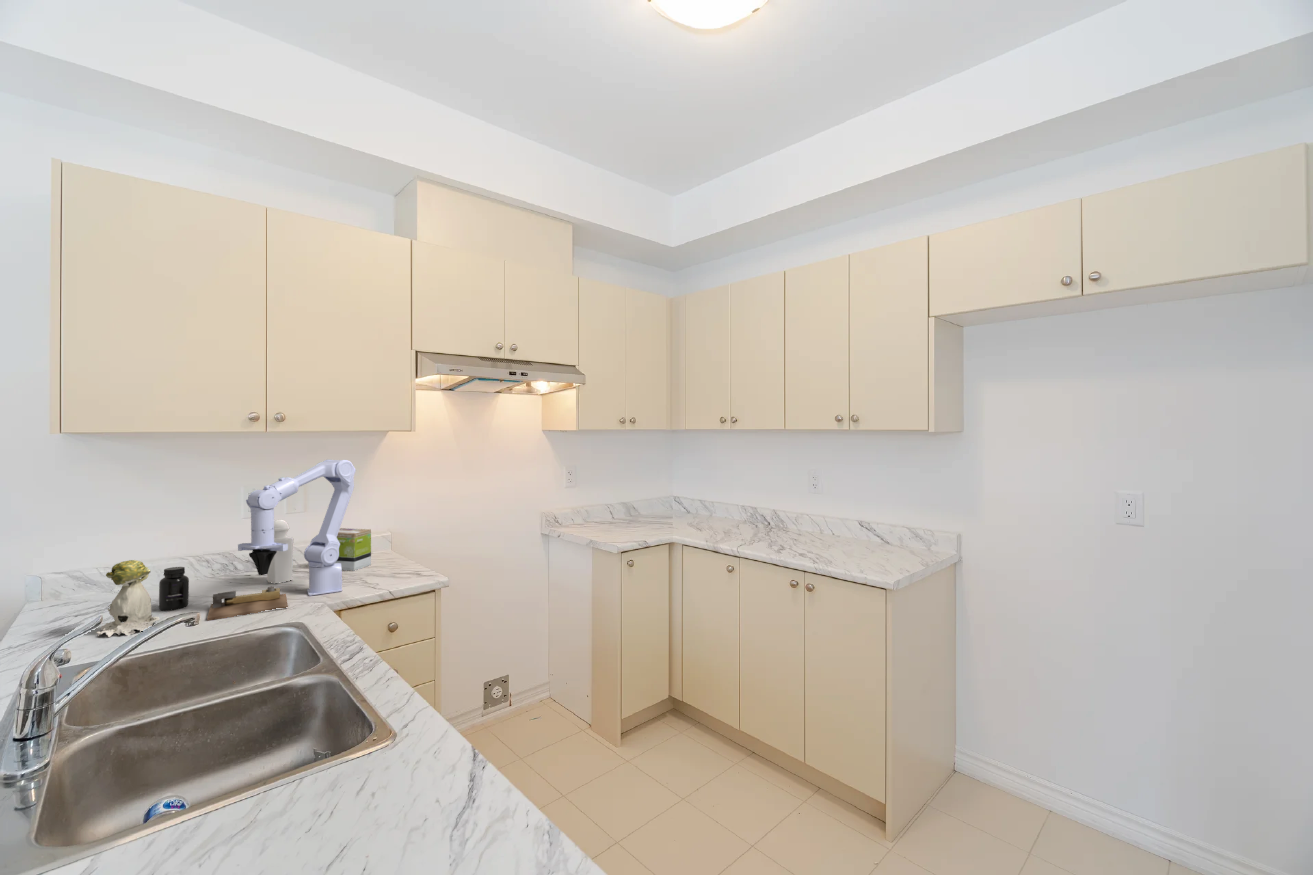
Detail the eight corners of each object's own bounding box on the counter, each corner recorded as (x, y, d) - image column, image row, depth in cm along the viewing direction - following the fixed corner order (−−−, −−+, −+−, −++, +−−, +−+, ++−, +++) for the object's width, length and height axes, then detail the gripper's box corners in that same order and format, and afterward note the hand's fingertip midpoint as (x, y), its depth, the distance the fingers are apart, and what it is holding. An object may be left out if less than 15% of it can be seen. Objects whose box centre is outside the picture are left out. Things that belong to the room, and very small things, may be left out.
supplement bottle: (171, 612, 166) (171, 571, 166) (152, 610, 168) (152, 570, 168) (194, 605, 173) (194, 566, 173) (176, 603, 174) (176, 565, 174)
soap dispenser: (294, 580, 202) (293, 519, 201) (274, 584, 196) (273, 521, 196) (285, 578, 205) (284, 517, 205) (265, 582, 200) (264, 520, 199)
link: (280, 595, 180) (279, 587, 180) (279, 598, 176) (279, 590, 176) (224, 602, 172) (224, 594, 172) (223, 606, 168) (223, 598, 168)
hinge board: (285, 595, 182) (285, 582, 182) (288, 608, 169) (287, 593, 169) (211, 606, 171) (210, 592, 171) (207, 620, 158) (207, 605, 158)
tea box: (319, 569, 218) (319, 531, 218) (338, 563, 228) (338, 527, 227) (354, 571, 215) (354, 532, 215) (372, 565, 225) (371, 528, 225)
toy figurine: (160, 618, 161) (160, 553, 161) (158, 630, 151) (157, 561, 151) (102, 627, 153) (101, 559, 153) (95, 640, 143) (94, 568, 143)
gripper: (229, 531, 167) (229, 577, 167) (275, 532, 166) (275, 578, 166) (248, 527, 174) (248, 571, 174) (292, 528, 173) (293, 572, 173)
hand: (263, 574), depth 171 cm, fingers closed
